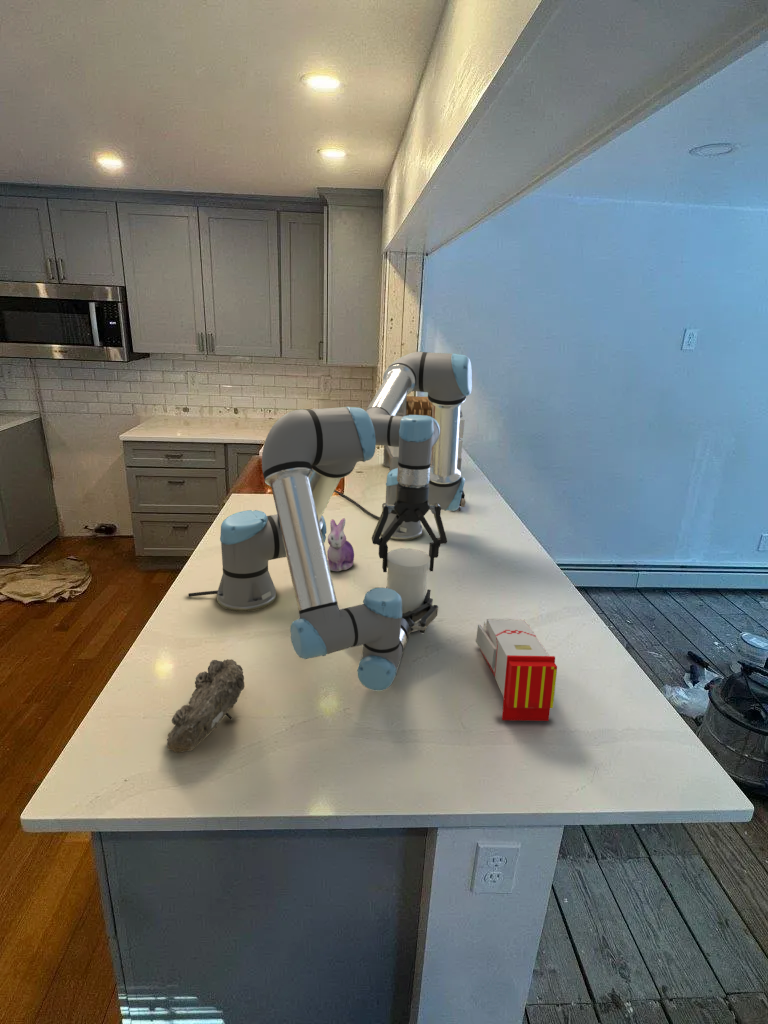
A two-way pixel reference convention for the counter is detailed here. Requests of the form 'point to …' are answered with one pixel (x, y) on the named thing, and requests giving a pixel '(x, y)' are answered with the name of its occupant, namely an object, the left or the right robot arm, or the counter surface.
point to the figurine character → (462, 501)
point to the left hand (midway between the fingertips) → (408, 591)
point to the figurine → (339, 548)
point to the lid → (408, 561)
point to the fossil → (206, 705)
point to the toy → (519, 668)
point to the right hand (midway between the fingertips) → (407, 569)
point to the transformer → (418, 407)
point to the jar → (408, 589)
